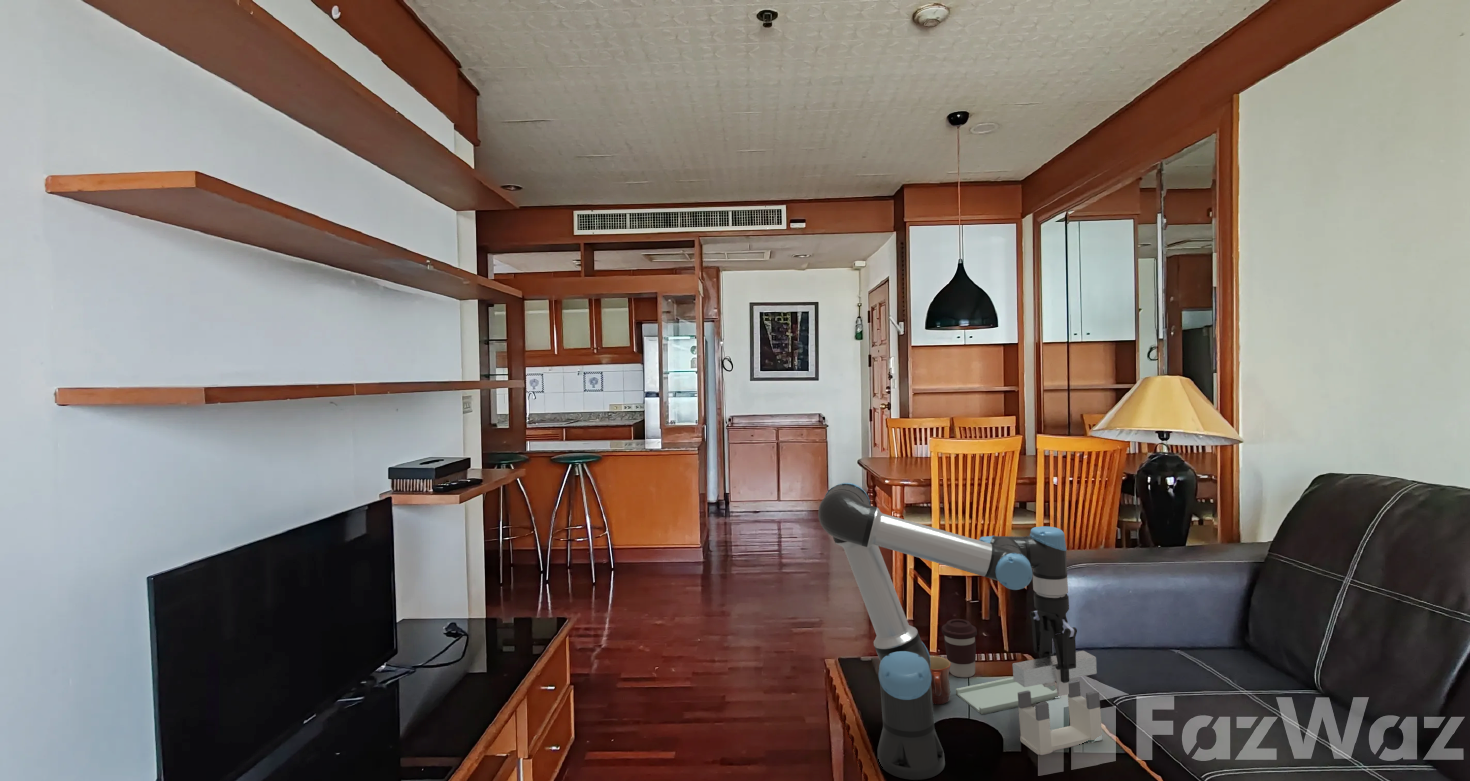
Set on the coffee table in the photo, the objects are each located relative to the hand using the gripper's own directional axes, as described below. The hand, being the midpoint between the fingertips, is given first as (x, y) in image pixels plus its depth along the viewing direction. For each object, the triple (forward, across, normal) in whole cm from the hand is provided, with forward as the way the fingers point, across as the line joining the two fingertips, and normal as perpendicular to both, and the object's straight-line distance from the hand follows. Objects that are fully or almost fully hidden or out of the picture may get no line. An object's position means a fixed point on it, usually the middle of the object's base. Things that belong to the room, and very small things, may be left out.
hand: (1055, 689), depth 157 cm
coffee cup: (+13, +40, 0) cm, 42 cm away
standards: (+12, 0, -1) cm, 12 cm away
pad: (+12, +23, -3) cm, 26 cm away
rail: (-3, 0, 0) cm, 3 cm away
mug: (+13, +27, +16) cm, 34 cm away
